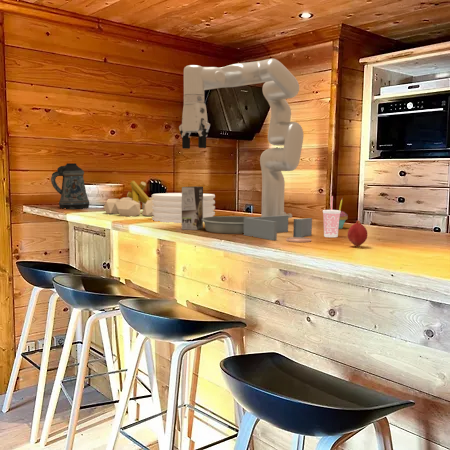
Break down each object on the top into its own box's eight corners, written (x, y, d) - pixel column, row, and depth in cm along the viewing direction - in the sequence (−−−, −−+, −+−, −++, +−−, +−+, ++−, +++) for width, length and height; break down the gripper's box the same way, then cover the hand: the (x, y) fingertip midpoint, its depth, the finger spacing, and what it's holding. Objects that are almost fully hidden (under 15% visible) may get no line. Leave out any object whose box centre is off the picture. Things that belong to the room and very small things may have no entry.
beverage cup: (318, 236, 178) (319, 195, 176) (327, 234, 183) (328, 195, 181) (334, 238, 174) (335, 196, 173) (343, 236, 179) (344, 196, 177)
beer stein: (95, 208, 293) (95, 163, 290) (69, 210, 276) (68, 163, 273) (75, 206, 301) (74, 163, 298) (48, 208, 285) (47, 163, 282)
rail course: (285, 231, 191) (286, 215, 191) (317, 236, 178) (317, 219, 177) (243, 234, 180) (243, 217, 179) (273, 240, 167) (274, 221, 166)
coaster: (299, 238, 173) (299, 236, 173) (316, 241, 166) (316, 239, 166) (281, 240, 168) (281, 238, 168) (298, 243, 161) (298, 241, 161)
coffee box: (197, 230, 192) (197, 186, 191) (181, 229, 194) (181, 186, 192) (203, 227, 201) (203, 186, 200) (187, 227, 203) (187, 185, 201)
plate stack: (140, 219, 233) (140, 193, 232) (189, 216, 252) (189, 192, 251) (177, 224, 213) (177, 196, 211) (227, 220, 231) (227, 195, 230)
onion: (344, 245, 158) (345, 219, 157) (362, 245, 158) (364, 219, 157) (350, 248, 152) (351, 221, 151) (369, 248, 152) (370, 221, 152)
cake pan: (219, 236, 178) (219, 223, 177) (191, 228, 199) (191, 217, 199) (279, 233, 189) (280, 220, 188) (246, 226, 211) (246, 215, 210)
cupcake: (349, 227, 206) (350, 197, 205) (344, 229, 199) (345, 198, 197) (328, 226, 210) (328, 197, 209) (322, 228, 202) (323, 197, 201)
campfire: (93, 213, 262) (93, 179, 260) (149, 210, 285) (149, 179, 283) (130, 218, 236) (130, 181, 234) (189, 214, 259) (189, 180, 257)
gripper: (217, 99, 184) (217, 148, 186) (188, 103, 197) (188, 149, 199) (200, 97, 179) (200, 147, 181) (171, 102, 192) (172, 148, 194)
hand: (194, 148), depth 190 cm, fingers open, 9 cm apart
